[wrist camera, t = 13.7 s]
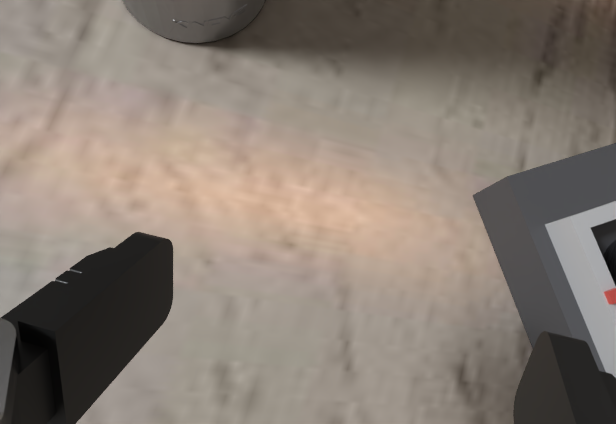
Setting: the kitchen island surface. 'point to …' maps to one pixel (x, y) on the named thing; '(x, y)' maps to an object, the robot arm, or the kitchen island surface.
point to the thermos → (611, 260)
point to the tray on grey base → (559, 247)
